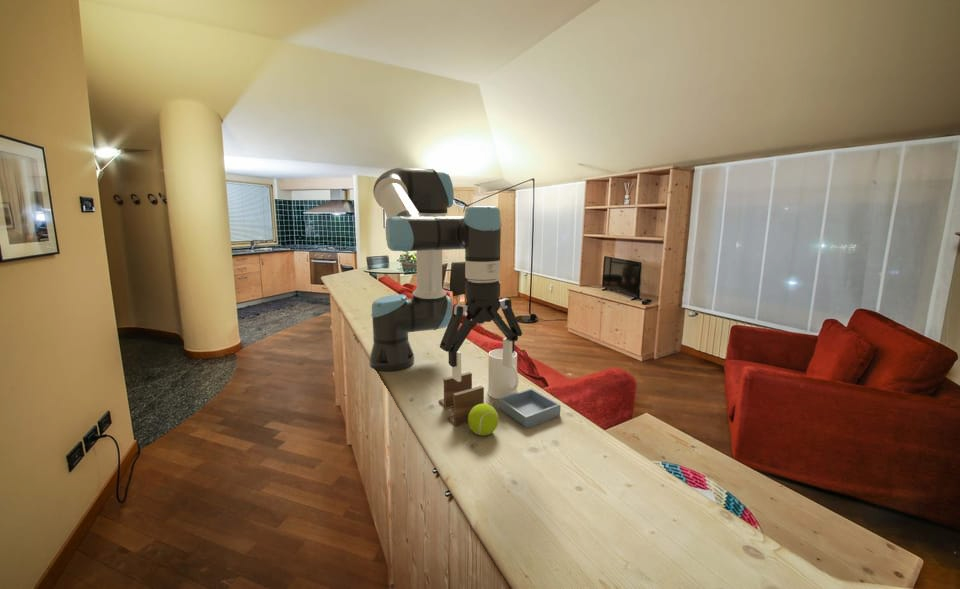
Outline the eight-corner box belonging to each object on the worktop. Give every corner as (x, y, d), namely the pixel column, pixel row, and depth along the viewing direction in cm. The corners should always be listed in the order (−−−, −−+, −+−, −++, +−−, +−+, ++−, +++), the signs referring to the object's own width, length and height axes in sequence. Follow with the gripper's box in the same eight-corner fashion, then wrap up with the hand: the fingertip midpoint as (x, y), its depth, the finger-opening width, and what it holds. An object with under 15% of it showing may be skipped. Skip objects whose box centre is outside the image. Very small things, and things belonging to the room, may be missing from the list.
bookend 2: (447, 418, 94) (447, 388, 92) (475, 409, 98) (474, 381, 96) (456, 426, 90) (455, 395, 89) (483, 416, 94) (483, 387, 93)
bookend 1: (439, 402, 102) (438, 374, 101) (464, 394, 106) (464, 368, 105) (446, 408, 99) (445, 380, 97) (472, 400, 103) (471, 373, 101)
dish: (498, 409, 98) (498, 398, 98) (531, 398, 104) (531, 388, 104) (525, 428, 89) (525, 417, 88) (559, 415, 95) (560, 404, 94)
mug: (528, 401, 102) (529, 360, 100) (500, 407, 99) (501, 365, 97) (508, 384, 113) (509, 346, 111) (482, 389, 110) (482, 350, 107)
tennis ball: (504, 435, 86) (504, 407, 85) (478, 445, 83) (478, 416, 81) (487, 422, 92) (487, 395, 91) (462, 430, 89) (462, 403, 87)
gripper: (438, 288, 71) (441, 392, 75) (538, 277, 84) (536, 366, 88) (422, 282, 77) (425, 379, 81) (517, 273, 90) (516, 356, 94)
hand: (483, 372), depth 85 cm, fingers open, 13 cm apart
